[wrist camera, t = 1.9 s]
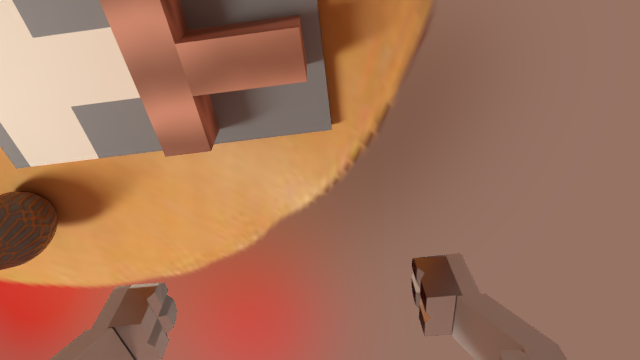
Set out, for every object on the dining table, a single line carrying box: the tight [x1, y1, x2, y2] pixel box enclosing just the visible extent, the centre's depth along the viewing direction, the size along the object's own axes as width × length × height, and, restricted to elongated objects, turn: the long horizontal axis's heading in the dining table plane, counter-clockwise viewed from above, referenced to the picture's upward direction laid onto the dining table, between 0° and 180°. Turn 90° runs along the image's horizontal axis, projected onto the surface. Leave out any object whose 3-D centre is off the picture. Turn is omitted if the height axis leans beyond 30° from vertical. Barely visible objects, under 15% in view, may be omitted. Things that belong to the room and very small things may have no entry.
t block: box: [99, 0, 307, 157], centre depth 29 cm, size 14×13×4 cm
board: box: [0, 0, 332, 168], centre depth 32 cm, size 17×32×1 cm, turn 97°
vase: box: [0, 191, 58, 270], centre depth 38 cm, size 7×7×9 cm
